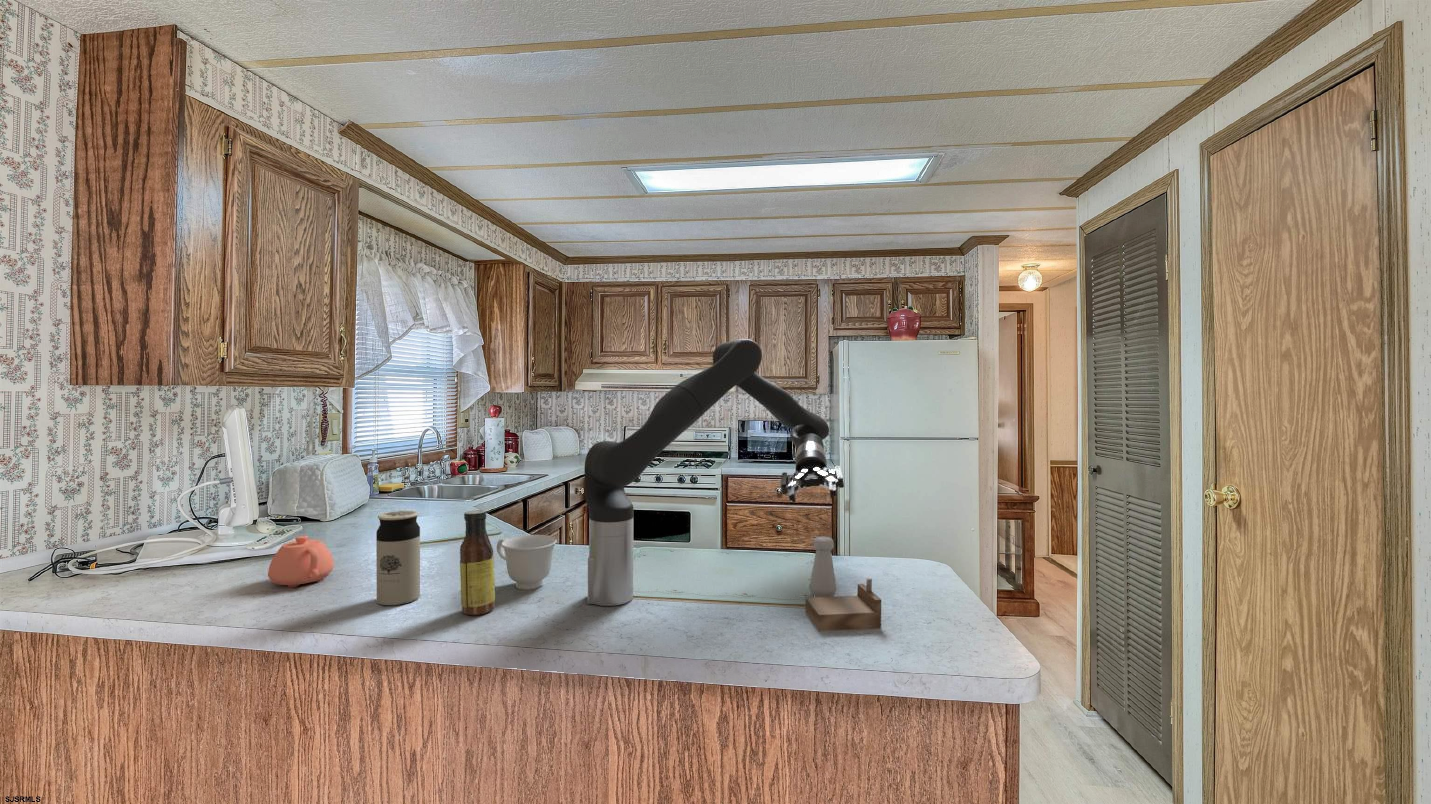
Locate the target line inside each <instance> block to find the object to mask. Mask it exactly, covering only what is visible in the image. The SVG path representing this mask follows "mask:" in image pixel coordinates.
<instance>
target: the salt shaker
mask: <svg viewBox="0 0 1431 804" xmlns="http://www.w3.org/2000/svg"><path fill="white" fill-rule="evenodd" d="M834 547H835V543H834V539H833V538H831V537H829V536H824V535H823V536H822V535H821V536H817V537H815V538H814V539H813V548H814V549H815V555H814V560H813V566H812V571H811V575H810V581H809V586H808V588H809V591H810V594H811V596H812V595H813V596H815V597H831V596H835V595H836V593H837V590H838V589H837V588H838V587H837V582H836V576H835V568H834V563H833V561H834V560H833V554H832V550H834ZM813 596H812V597H813Z"/></svg>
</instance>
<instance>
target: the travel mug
mask: <svg viewBox="0 0 1431 804" xmlns="http://www.w3.org/2000/svg"><path fill="white" fill-rule="evenodd" d="M419 514H420V513H419V512H418V511H417V510H409V509H408V510H406V509H405V510H394V511H386V512H382V513H380V514H379V515H377V518H378V520H379V526H378V528H377V529H376V533H375V534H376V535H375V537H376V543H375V544H376V553H375V554H376V555H375V556H376V603H377V604H379V605H382V606H401V605H405V604H409V603H412V602H413V601H416V600H417V599H418V598H419V597H420V596H421V527H420V526H419V523H418V522H417V518H418V516H419Z"/></svg>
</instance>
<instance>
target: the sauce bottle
mask: <svg viewBox="0 0 1431 804" xmlns="http://www.w3.org/2000/svg"><path fill="white" fill-rule="evenodd" d="M463 517H464V518H463V519H464V521H465V532H464V534H465V536H464V538H463V541H462V542H461V544H460V548H459V559H460V561H459V571H460V572H459V573H460V602H461V604H460V605H461V606H462V607H461V611H462V613H463V614H465V615H467V616H479V615H480V616H481V615H485V614H487V613H490V612H492V611H493V610H494V608H495V603H496V591H495V590H496V589H495V587H496V585H495V584H496V583H495V564H494V563H495V561H494V559H495V558H494V557H495V556H494V549H493V545H492V543H491V541H490V538H489V535H488V532H487V527H486V522H487V521H486V520H487V511H486V510H485V509H472V510H468V511H465V512H464V515H463Z"/></svg>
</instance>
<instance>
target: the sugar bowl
mask: <svg viewBox="0 0 1431 804" xmlns="http://www.w3.org/2000/svg"><path fill="white" fill-rule="evenodd" d="M294 539H295V540H294V541H289V542H286V543H284V544H282V545H281V547H279V549H278V550H277V551H276V553H275V554H274V556H273V558H272V559H271V561H270V563H269V566H268V571H267V577H268V579H269V580H270V581H272V582H273V583H275V584H276V585H279V586H287V587H288V588H296V587H299V586H300V585H303V584H308V583H312V582H315V583H316V582H322V581H324V578H326V577H328V576H329V574H331V572H332V571H333V570H334V568H335V562H334V558H333V555H332V553H331V551H330V550H329V548H328V547H327V546H326V545H325V544H324V543H323V542H322V541H321V540H320V539H312V538H311V539H309V536H308V535H298V536H295V538H294Z"/></svg>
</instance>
